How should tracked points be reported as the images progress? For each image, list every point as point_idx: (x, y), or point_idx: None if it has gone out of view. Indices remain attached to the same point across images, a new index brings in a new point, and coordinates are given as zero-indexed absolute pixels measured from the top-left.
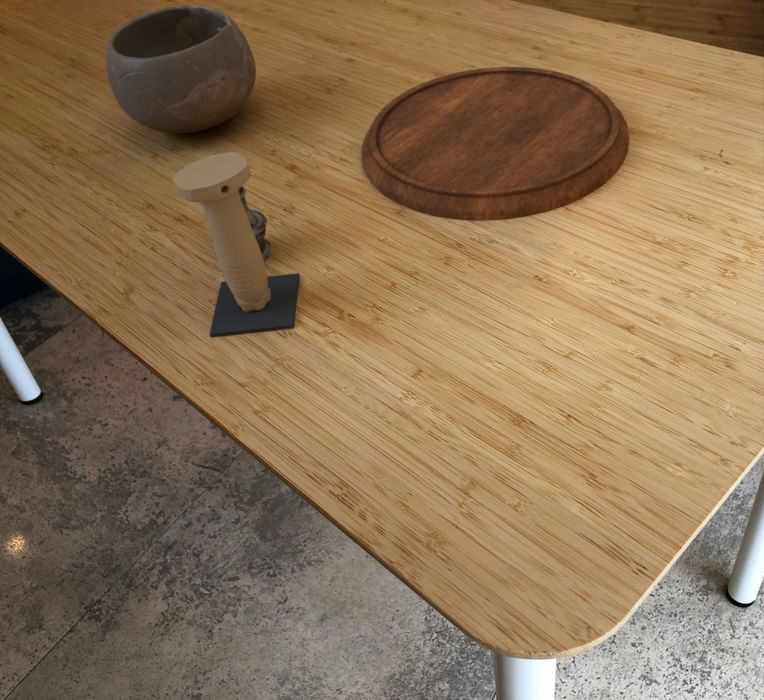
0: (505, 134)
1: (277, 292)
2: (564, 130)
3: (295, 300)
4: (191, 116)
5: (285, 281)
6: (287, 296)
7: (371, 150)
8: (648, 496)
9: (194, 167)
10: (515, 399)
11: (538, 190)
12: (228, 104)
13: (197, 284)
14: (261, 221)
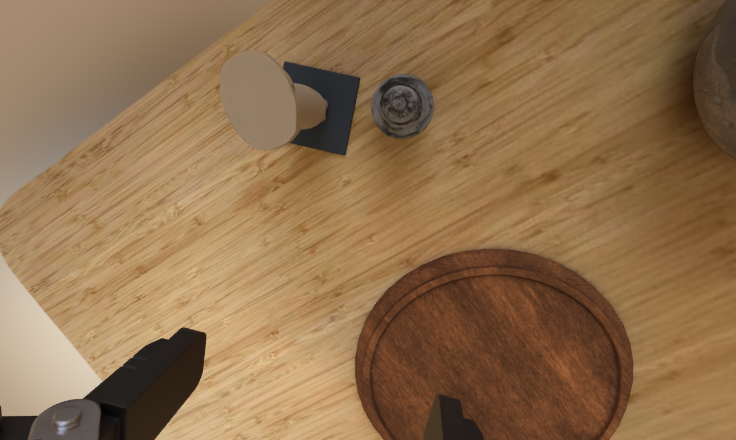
0: (469, 390)
1: (322, 131)
2: None
3: (306, 146)
4: (696, 62)
5: (336, 140)
6: (313, 139)
7: (502, 268)
8: (75, 313)
9: (273, 80)
10: (159, 274)
11: (362, 378)
12: (702, 120)
13: (370, 52)
14: (396, 133)
